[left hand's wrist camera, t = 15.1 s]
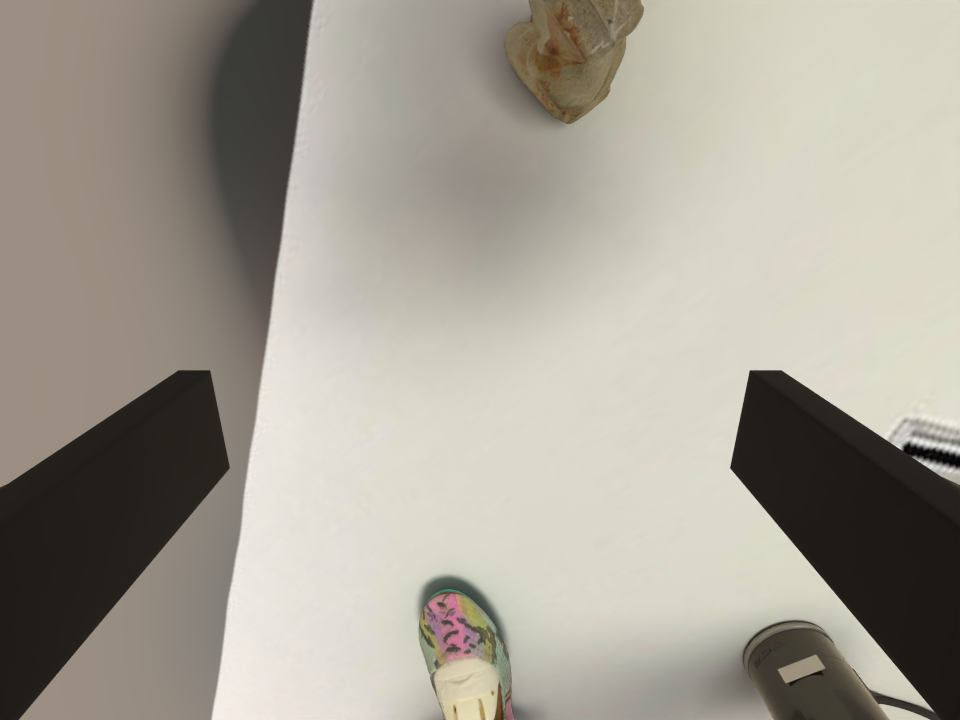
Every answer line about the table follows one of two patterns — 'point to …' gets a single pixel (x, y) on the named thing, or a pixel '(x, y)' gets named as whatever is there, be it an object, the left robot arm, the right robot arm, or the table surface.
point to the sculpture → (571, 51)
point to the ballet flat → (465, 659)
